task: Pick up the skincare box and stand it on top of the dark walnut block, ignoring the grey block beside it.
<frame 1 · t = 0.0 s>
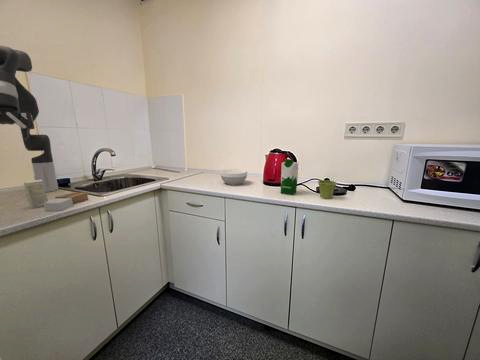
hand: (8, 139, 74), 31 cm above the countertop, tool tilted 20°, fingers open, 8 cm apart
plant pot: (325, 197, 113), on the countertop
skincare box: (39, 206, 98), on the countertop
grey block: (59, 208, 95), on the countertop
bowl: (233, 183, 145), on the countertop
walnut block: (72, 202, 105), on the countertop
milk carton: (288, 193, 121), on the countertop
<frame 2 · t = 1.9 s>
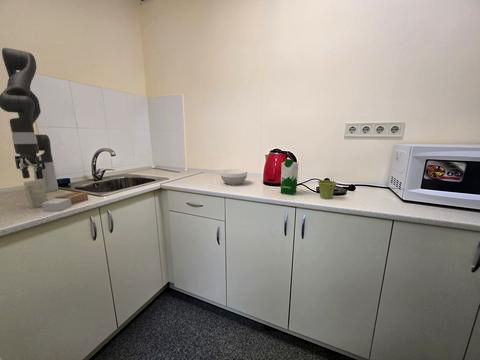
hand: (33, 178, 95), 13 cm above the countertop, tool pointing down, fingers open, 8 cm apart
nothing on the countertop moved.
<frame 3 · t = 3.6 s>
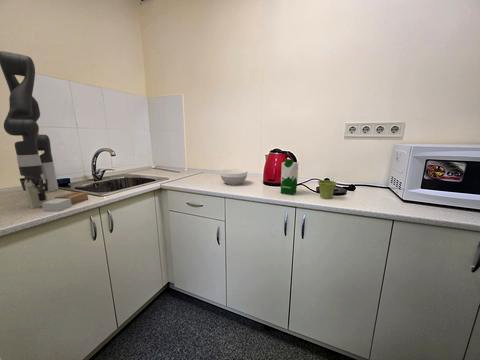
hand: (37, 199, 98), 3 cm above the countertop, tool pointing down, fingers closed on skincare box, 5 cm apart
skincare box: (39, 206, 98), on the countertop, touching gripper
everything else where it was.
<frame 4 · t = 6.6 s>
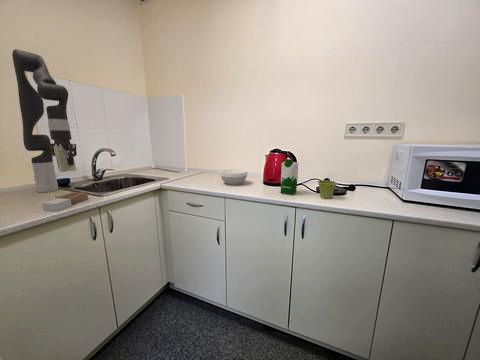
hand: (66, 165, 101), 19 cm above the countertop, tool pointing down, fingers closed on skincare box, 5 cm apart
skincare box: (67, 171, 101), point 15 cm above the countertop, touching gripper
everything else where it was.
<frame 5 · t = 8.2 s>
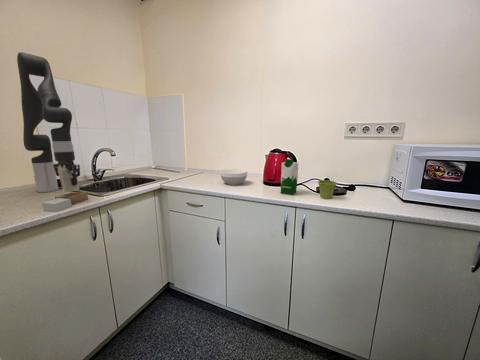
hand: (69, 184, 103), 9 cm above the countertop, tool pointing down, fingers closed on skincare box, 5 cm apart
skincare box: (70, 191, 103), point 6 cm above the countertop, touching gripper
everything else where it was.
when the fingers open (8 cm above the countertop, at t = 9.6 s): skincare box drops 1 cm, point 3 cm above the countertop.
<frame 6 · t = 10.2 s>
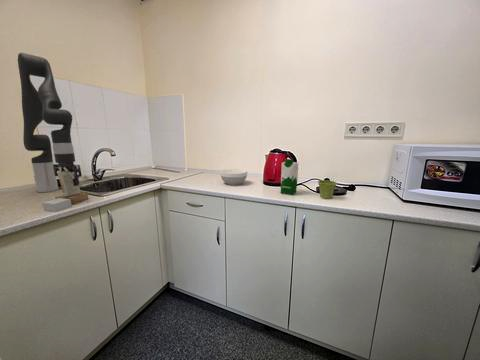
hand: (69, 185, 103), 9 cm above the countertop, tool pointing down, fingers open, 8 cm apart
skincare box: (72, 194, 104), point 3 cm above the countertop
everything else where it was.
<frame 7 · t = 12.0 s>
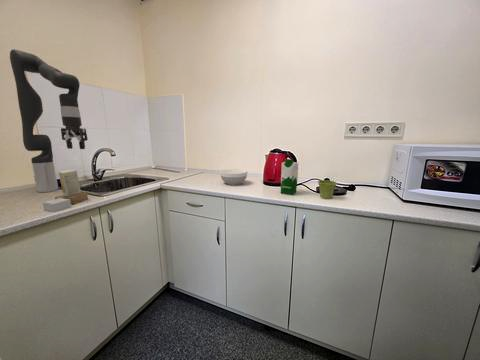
hand: (76, 148, 107), 26 cm above the countertop, tool pointing down, fingers open, 8 cm apart
skincare box: (72, 194, 104), point 4 cm above the countertop, touching walnut block
walnut block: (72, 202, 105), on the countertop, touching skincare box
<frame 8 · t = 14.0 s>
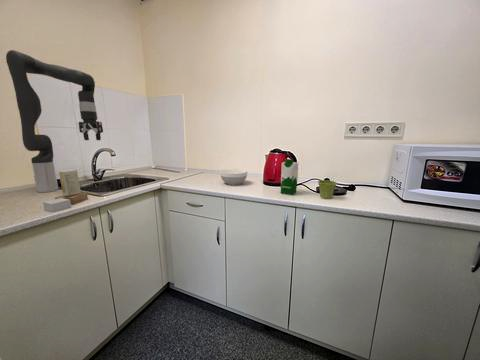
hand: (92, 140, 120), 30 cm above the countertop, tool pointing down, fingers open, 8 cm apart
at the end: skincare box touching walnut block; skincare box tilted 4° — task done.
